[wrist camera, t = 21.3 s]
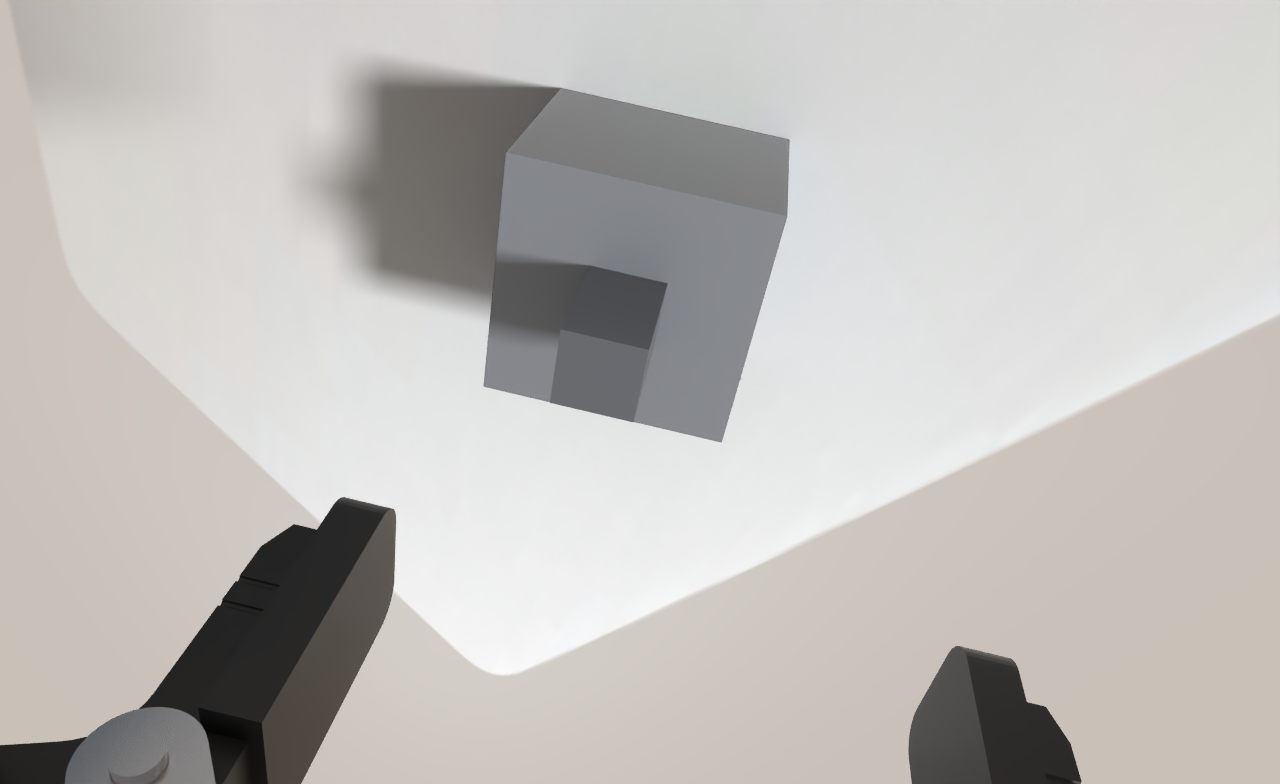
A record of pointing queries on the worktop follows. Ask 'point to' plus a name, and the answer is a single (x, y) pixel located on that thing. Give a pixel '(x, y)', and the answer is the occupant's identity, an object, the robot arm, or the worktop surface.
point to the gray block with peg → (633, 261)
